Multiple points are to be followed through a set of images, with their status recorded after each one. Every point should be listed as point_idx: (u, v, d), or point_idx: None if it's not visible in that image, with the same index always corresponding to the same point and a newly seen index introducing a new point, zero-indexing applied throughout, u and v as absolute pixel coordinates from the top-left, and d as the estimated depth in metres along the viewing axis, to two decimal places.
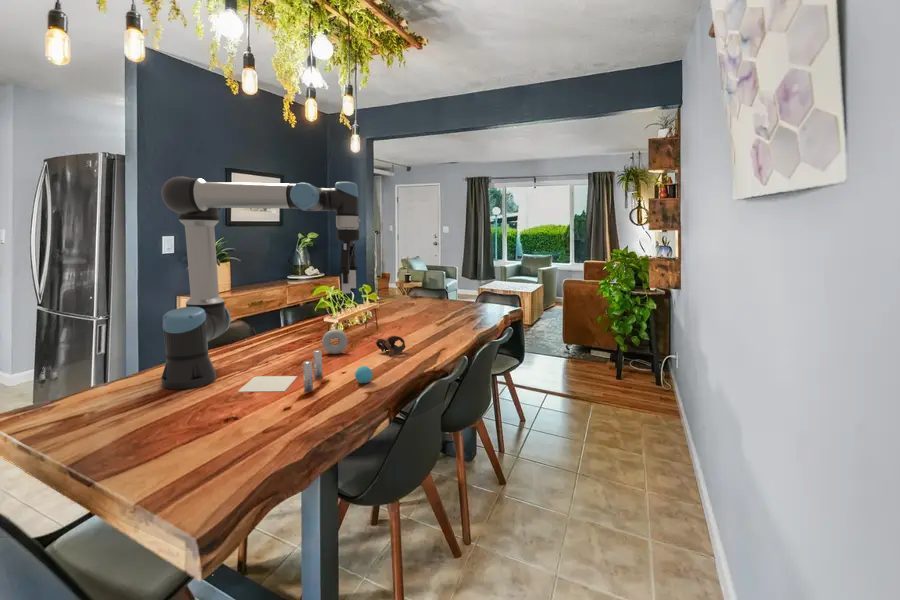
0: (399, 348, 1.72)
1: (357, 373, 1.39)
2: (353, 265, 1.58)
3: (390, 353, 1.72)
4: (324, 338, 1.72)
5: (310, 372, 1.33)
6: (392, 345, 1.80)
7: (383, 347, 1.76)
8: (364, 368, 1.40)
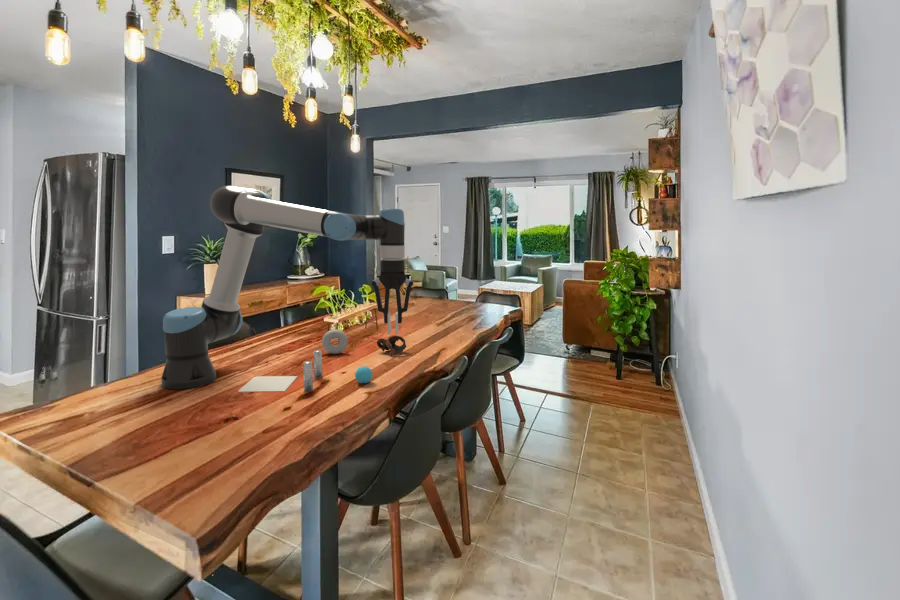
0: (400, 348, 1.73)
1: (357, 373, 1.39)
2: (388, 304, 1.39)
3: (391, 353, 1.72)
4: (324, 338, 1.72)
5: (310, 372, 1.33)
6: (393, 345, 1.81)
7: (384, 347, 1.77)
8: (364, 368, 1.40)
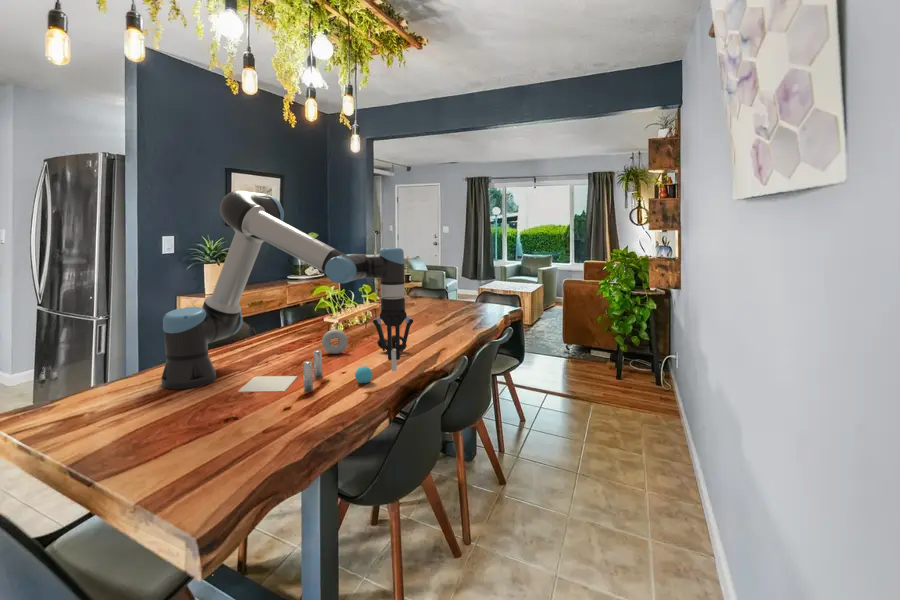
0: None
1: (357, 373, 1.39)
2: (391, 341, 1.41)
3: None
4: (324, 338, 1.72)
5: (310, 372, 1.33)
6: (393, 344, 1.81)
7: None
8: (364, 368, 1.40)
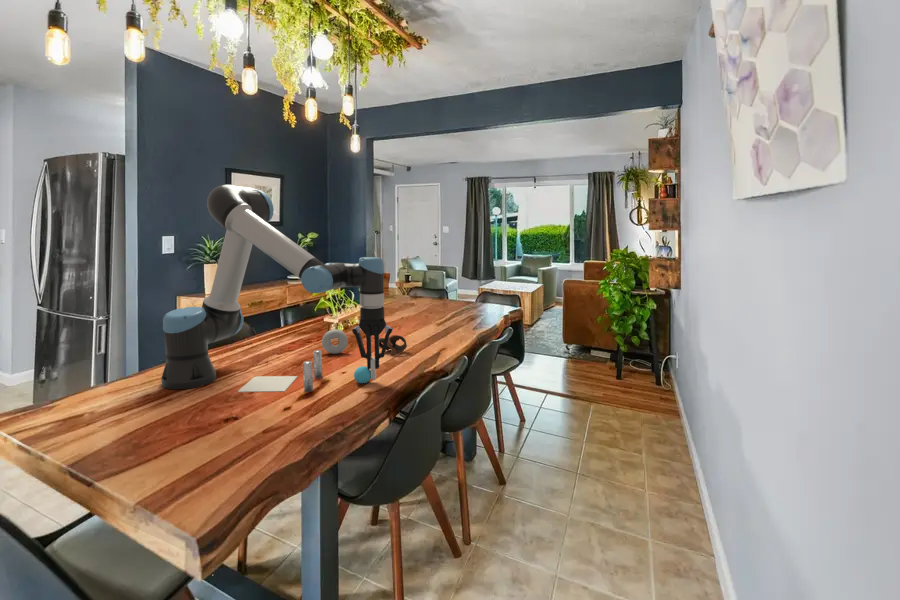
0: (401, 347, 1.73)
1: (356, 374, 1.39)
2: None
3: (392, 352, 1.73)
4: (324, 338, 1.72)
5: (310, 372, 1.33)
6: (393, 344, 1.81)
7: None
8: (362, 368, 1.40)
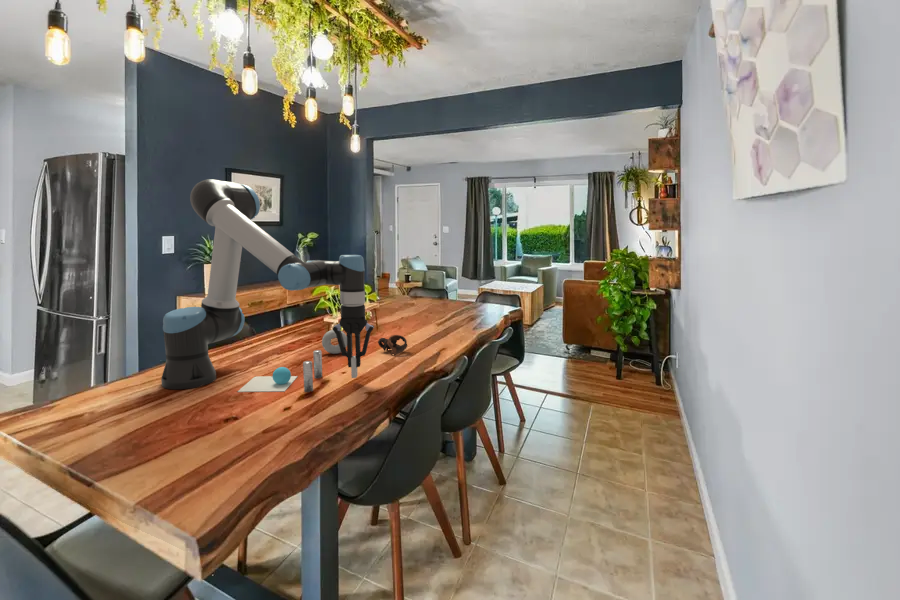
0: (401, 347, 1.74)
1: (283, 383, 1.38)
2: None
3: (392, 352, 1.73)
4: (324, 338, 1.72)
5: (310, 372, 1.33)
6: (394, 344, 1.82)
7: (385, 346, 1.77)
8: (275, 382, 1.39)
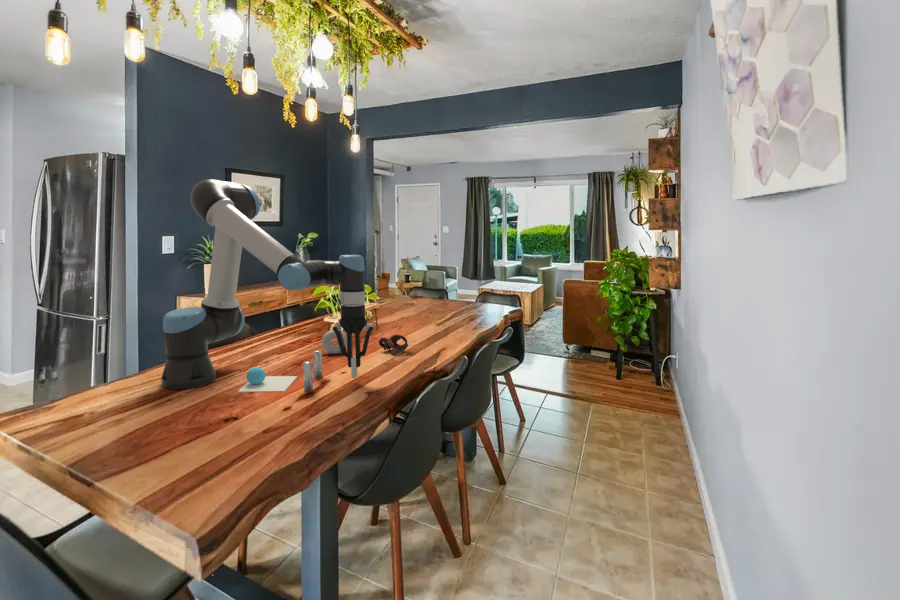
0: (402, 347, 1.74)
1: (251, 371, 1.37)
2: None
3: (393, 352, 1.74)
4: (324, 338, 1.72)
5: (310, 372, 1.33)
6: (394, 344, 1.82)
7: (386, 346, 1.78)
8: (260, 372, 1.38)
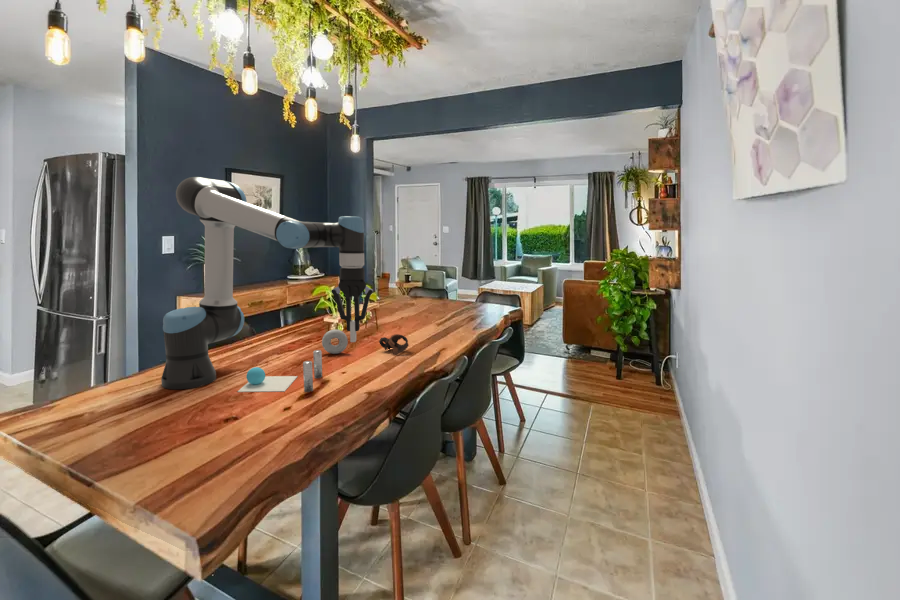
0: (402, 346, 1.75)
1: (251, 371, 1.37)
2: None
3: (394, 351, 1.74)
4: (324, 338, 1.72)
5: (310, 372, 1.33)
6: (395, 343, 1.83)
7: (386, 345, 1.78)
8: (260, 372, 1.38)
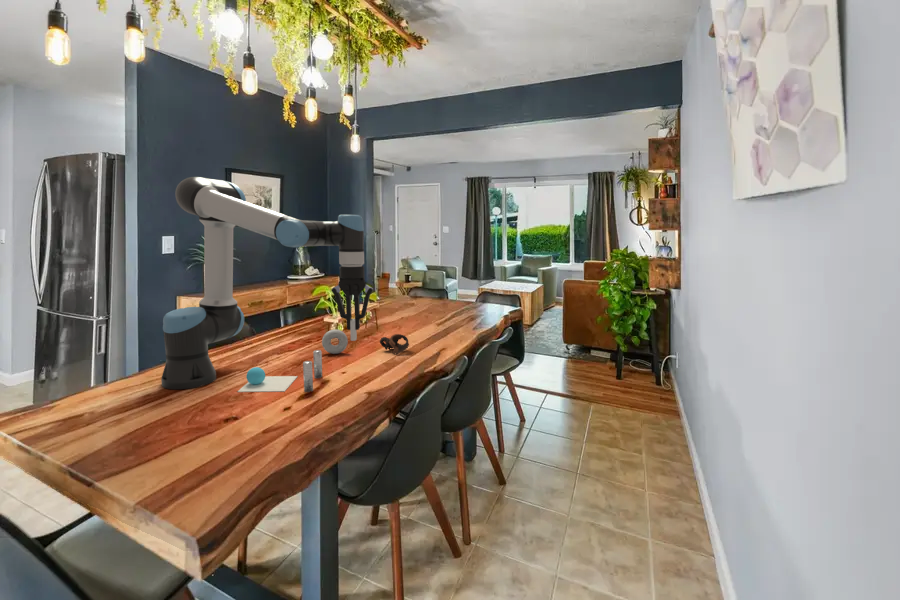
0: (403, 346, 1.75)
1: (251, 371, 1.37)
2: None
3: (394, 351, 1.75)
4: (324, 338, 1.72)
5: (310, 372, 1.33)
6: (395, 343, 1.83)
7: (387, 345, 1.79)
8: (260, 372, 1.38)
